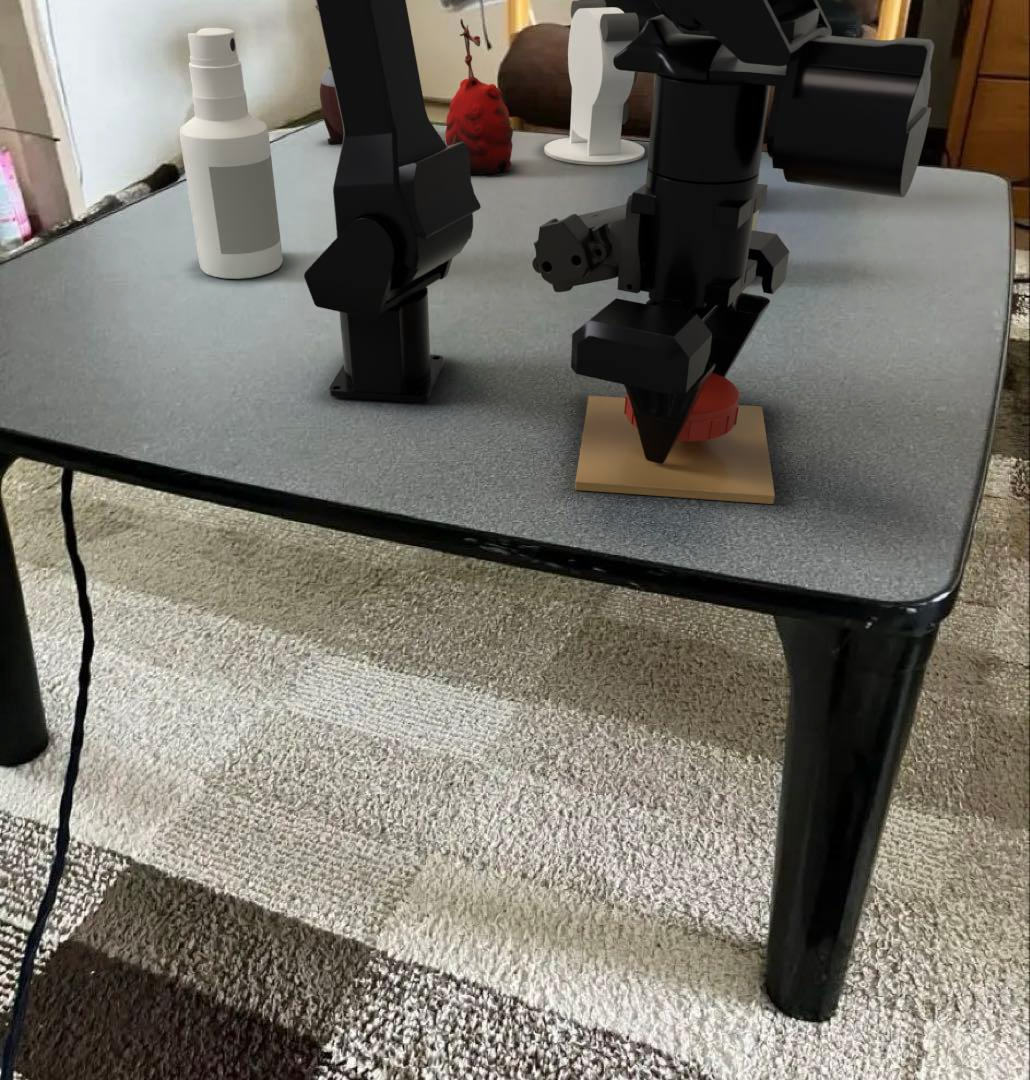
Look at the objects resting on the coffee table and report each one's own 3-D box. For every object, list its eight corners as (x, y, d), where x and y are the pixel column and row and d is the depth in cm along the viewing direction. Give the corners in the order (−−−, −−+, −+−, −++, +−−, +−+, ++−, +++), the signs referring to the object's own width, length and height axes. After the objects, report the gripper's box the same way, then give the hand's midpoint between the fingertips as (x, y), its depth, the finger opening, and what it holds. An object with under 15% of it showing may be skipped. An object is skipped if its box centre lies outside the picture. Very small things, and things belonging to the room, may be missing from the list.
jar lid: (711, 387, 67) (715, 362, 66) (753, 436, 61) (758, 410, 61) (610, 395, 65) (612, 369, 65) (644, 446, 60) (647, 419, 59)
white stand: (662, 162, 119) (674, 12, 111) (564, 169, 117) (570, 16, 108) (622, 136, 129) (631, -3, 121) (531, 142, 126) (534, 0, 118)
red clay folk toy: (526, 169, 117) (529, 16, 108) (482, 182, 112) (481, 23, 104) (475, 156, 121) (473, 8, 112) (430, 169, 116) (425, 15, 108)
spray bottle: (264, 283, 87) (234, 41, 77) (185, 276, 88) (146, 36, 78) (295, 255, 93) (271, 26, 83) (221, 249, 94) (188, 22, 84)
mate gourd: (378, 132, 130) (369, -7, 121) (393, 148, 123) (385, 2, 115) (315, 136, 128) (303, -5, 119) (327, 153, 121) (315, 5, 113)
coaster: (773, 504, 60) (775, 495, 59) (574, 490, 61) (575, 481, 61) (760, 414, 69) (762, 406, 69) (588, 403, 70) (588, 395, 70)
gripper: (627, 115, 66) (612, 354, 74) (478, 192, 52) (480, 474, 61) (809, 137, 61) (770, 387, 70) (699, 227, 48) (668, 525, 56)
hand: (675, 437), depth 64 cm, fingers closed on jar lid, 6 cm apart
